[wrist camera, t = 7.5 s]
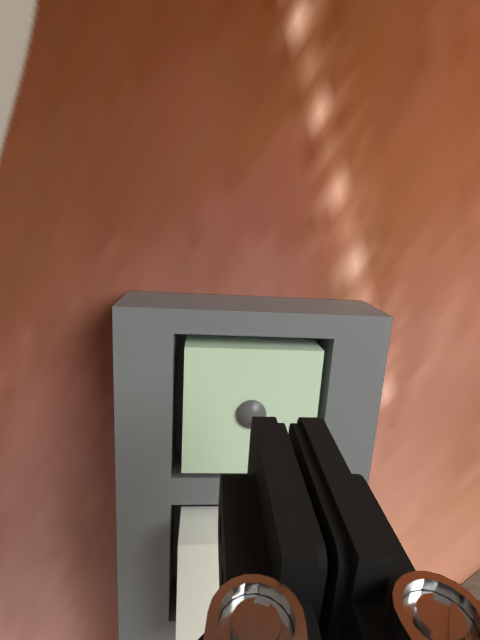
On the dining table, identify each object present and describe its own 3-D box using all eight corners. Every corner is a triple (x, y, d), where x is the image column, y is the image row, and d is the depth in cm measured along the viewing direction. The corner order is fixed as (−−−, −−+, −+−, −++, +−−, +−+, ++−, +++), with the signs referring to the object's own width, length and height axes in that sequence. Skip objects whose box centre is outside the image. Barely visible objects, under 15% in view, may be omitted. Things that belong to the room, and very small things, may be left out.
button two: (181, 506, 17) (177, 546, 15) (302, 505, 17) (314, 544, 15) (178, 605, 18) (175, 655, 16) (291, 602, 18) (302, 650, 16)
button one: (187, 331, 16) (184, 348, 14) (310, 335, 17) (325, 352, 15) (184, 444, 17) (181, 474, 15) (299, 445, 18) (311, 474, 16)
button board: (128, 291, 17) (112, 306, 14) (362, 300, 18) (393, 316, 15) (132, 685, 22) (120, 756, 19) (313, 677, 23) (328, 743, 20)
